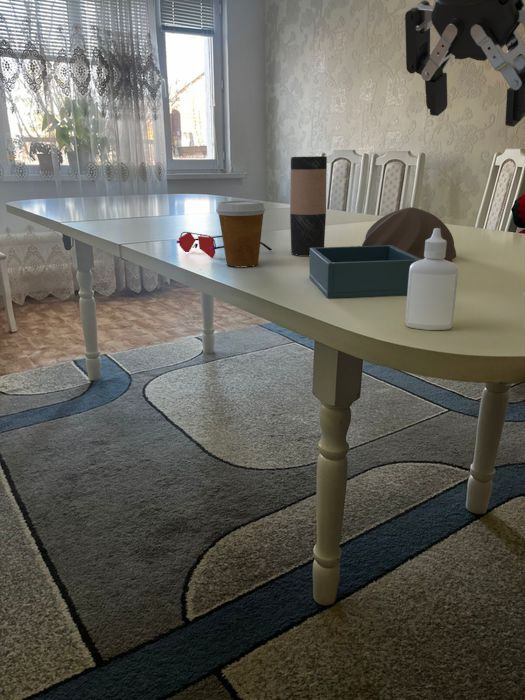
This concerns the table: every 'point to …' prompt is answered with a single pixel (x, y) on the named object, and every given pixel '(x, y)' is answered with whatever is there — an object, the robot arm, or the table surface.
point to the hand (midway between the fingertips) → (474, 117)
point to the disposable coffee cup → (241, 231)
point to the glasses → (201, 243)
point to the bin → (360, 270)
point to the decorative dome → (409, 232)
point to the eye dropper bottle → (432, 288)
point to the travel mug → (307, 203)
